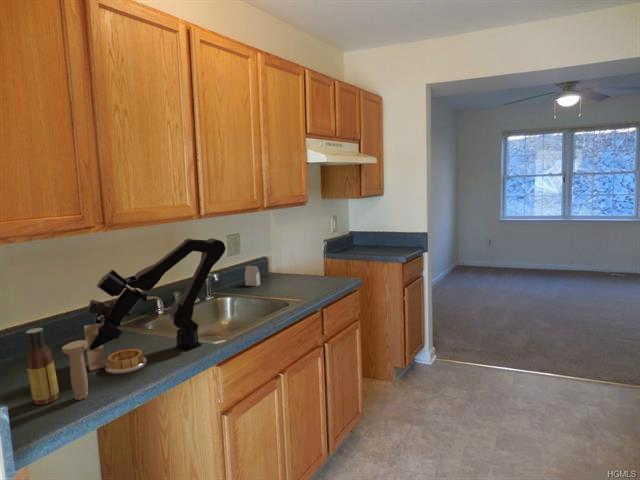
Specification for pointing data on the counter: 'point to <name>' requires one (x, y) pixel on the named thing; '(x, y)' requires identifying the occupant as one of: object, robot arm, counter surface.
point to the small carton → (252, 276)
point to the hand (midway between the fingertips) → (89, 345)
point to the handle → (77, 368)
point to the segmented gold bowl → (125, 361)
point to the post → (96, 355)
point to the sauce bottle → (40, 368)
